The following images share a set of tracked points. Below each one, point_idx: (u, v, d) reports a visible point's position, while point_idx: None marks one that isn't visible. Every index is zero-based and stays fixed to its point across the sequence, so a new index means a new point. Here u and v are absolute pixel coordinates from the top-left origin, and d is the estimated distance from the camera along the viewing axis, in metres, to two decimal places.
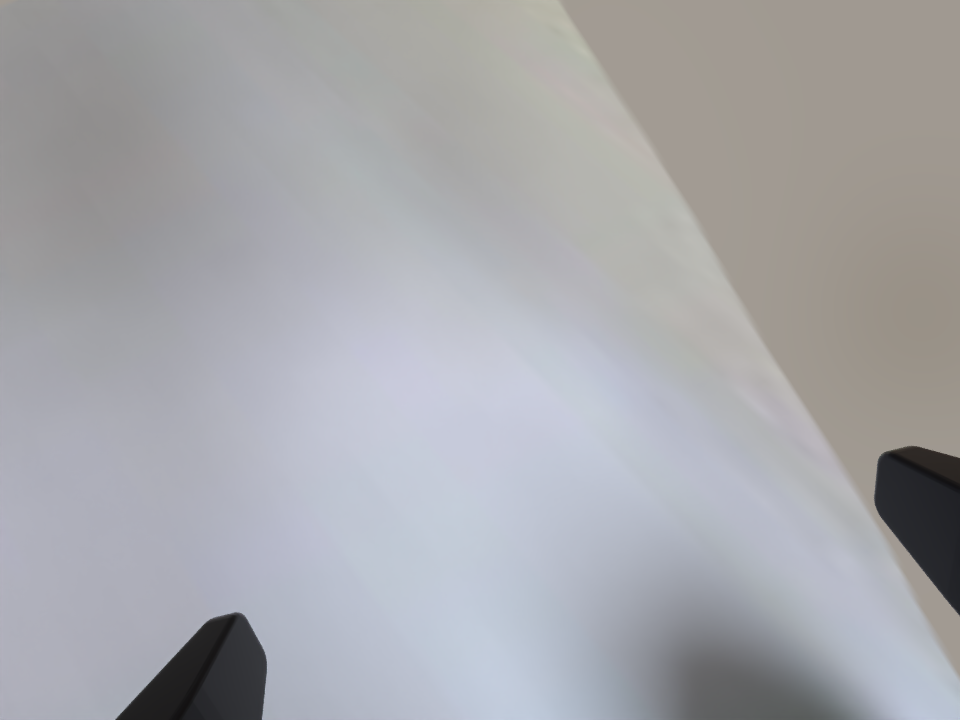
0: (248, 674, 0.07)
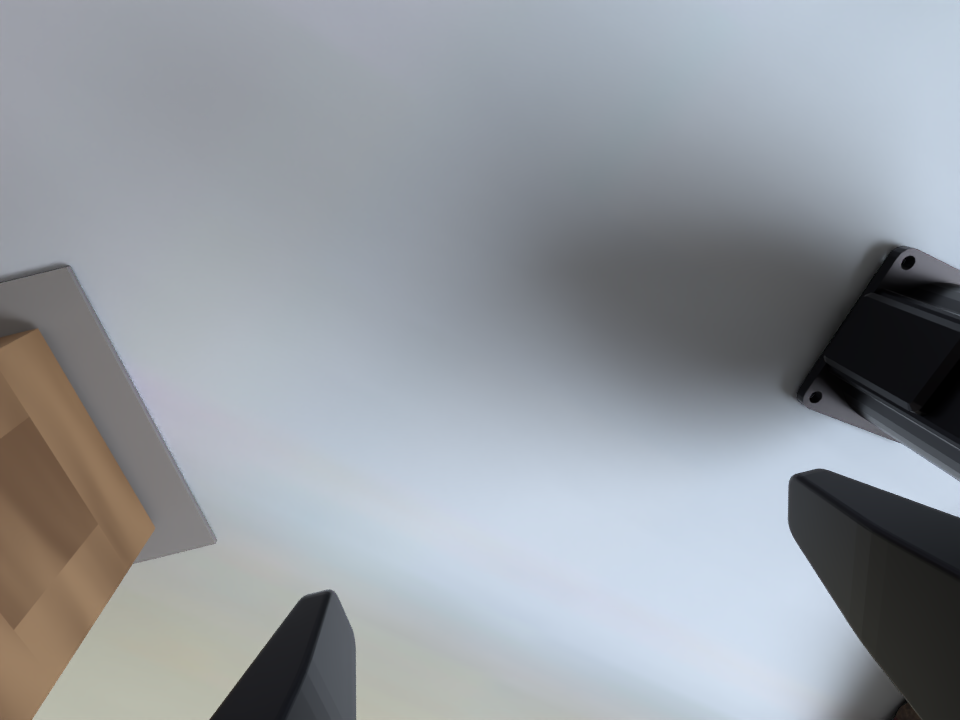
0: (343, 651, 0.07)
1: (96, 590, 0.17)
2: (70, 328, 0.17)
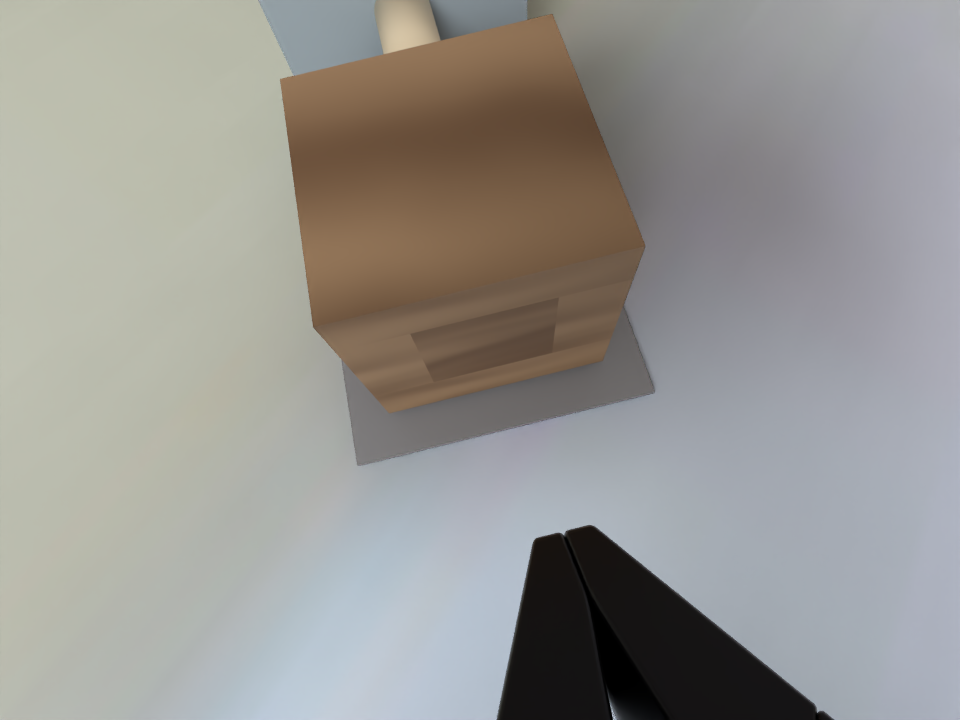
0: None
1: (381, 378, 0.17)
2: (599, 382, 0.20)
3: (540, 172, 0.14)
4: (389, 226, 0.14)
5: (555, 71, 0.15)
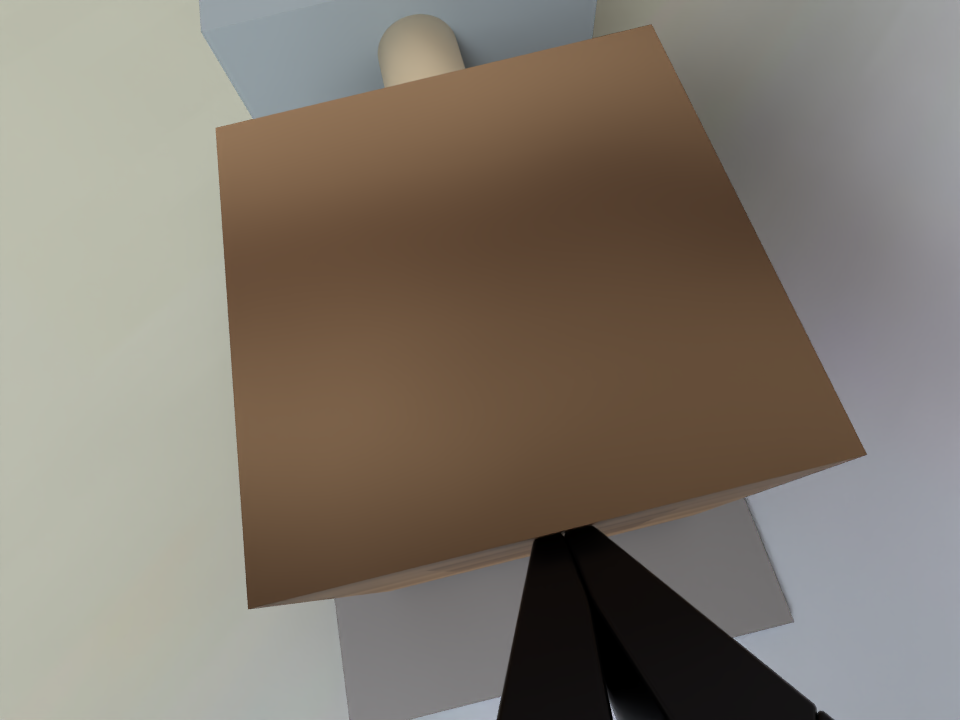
0: None
1: (378, 588, 0.11)
2: (709, 604, 0.14)
3: (656, 301, 0.08)
4: (391, 399, 0.08)
5: (665, 119, 0.09)
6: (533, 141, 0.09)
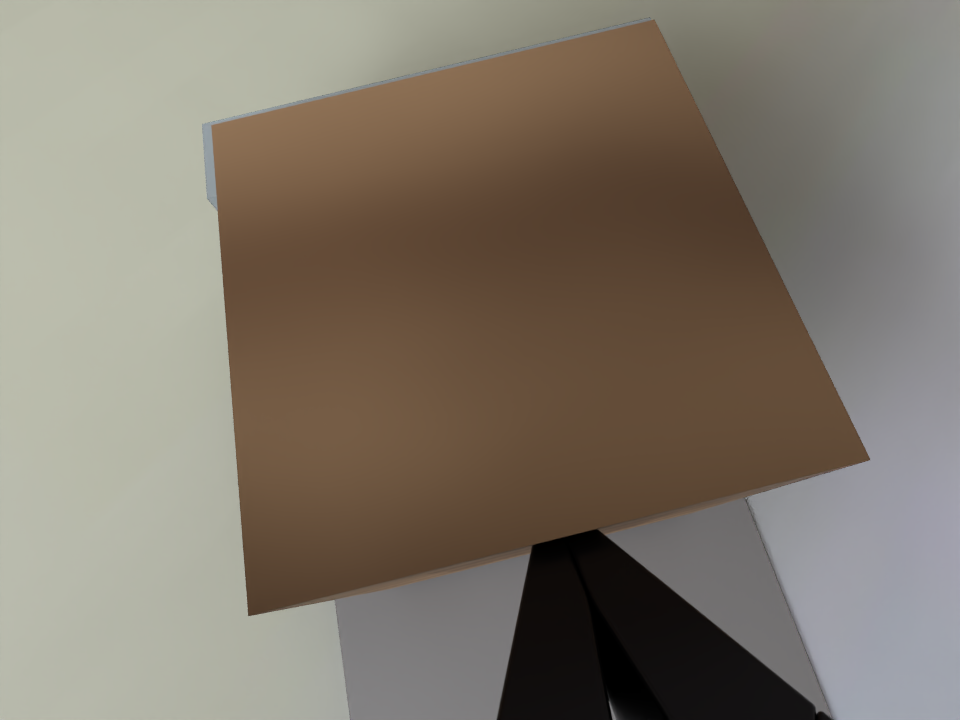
0: None
1: (378, 589, 0.11)
2: None
3: (658, 303, 0.08)
4: (391, 404, 0.08)
5: (668, 117, 0.09)
6: (534, 140, 0.09)
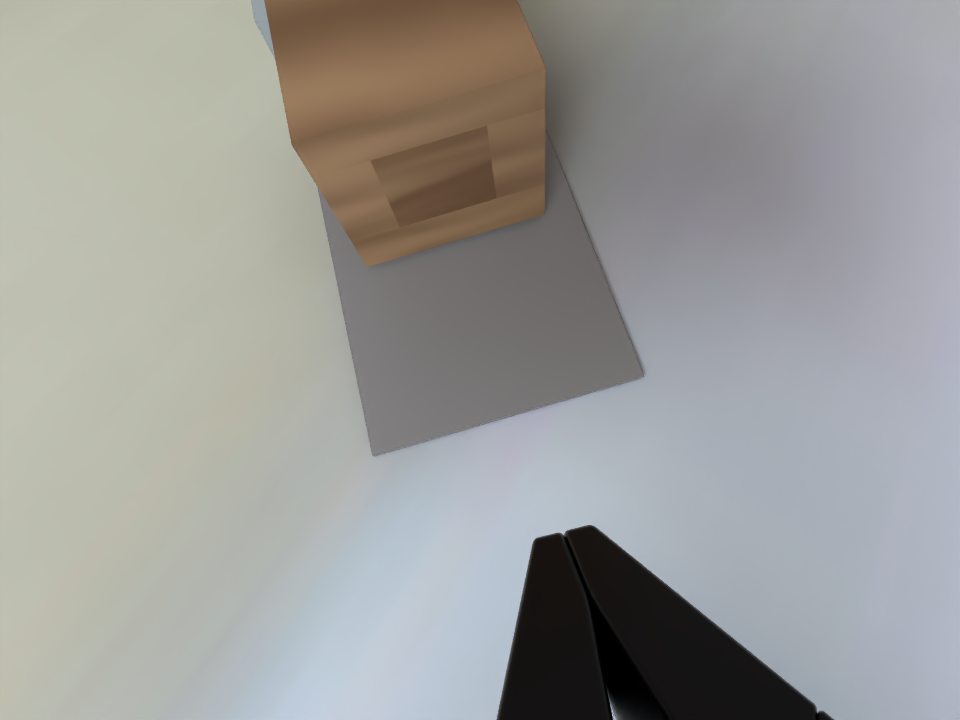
0: None
1: (354, 217, 0.21)
2: (592, 369, 0.22)
3: (465, 22, 0.18)
4: (348, 69, 0.17)
5: None
6: None
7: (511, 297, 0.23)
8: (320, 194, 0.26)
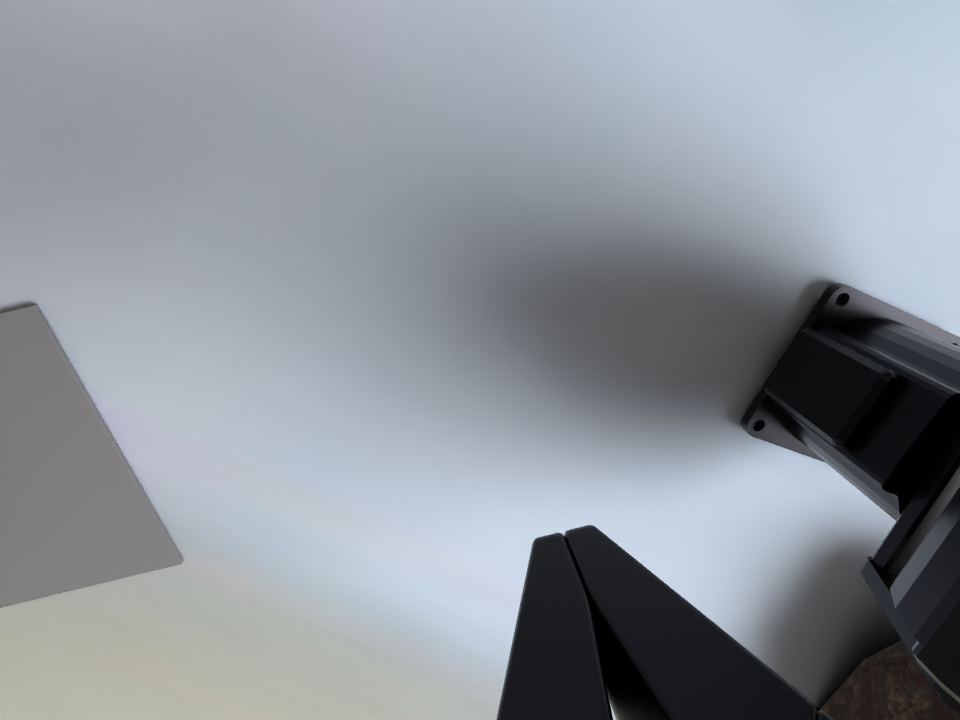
0: None
1: None
2: (37, 362, 0.18)
3: None
4: None
5: None
6: None
7: None
8: None
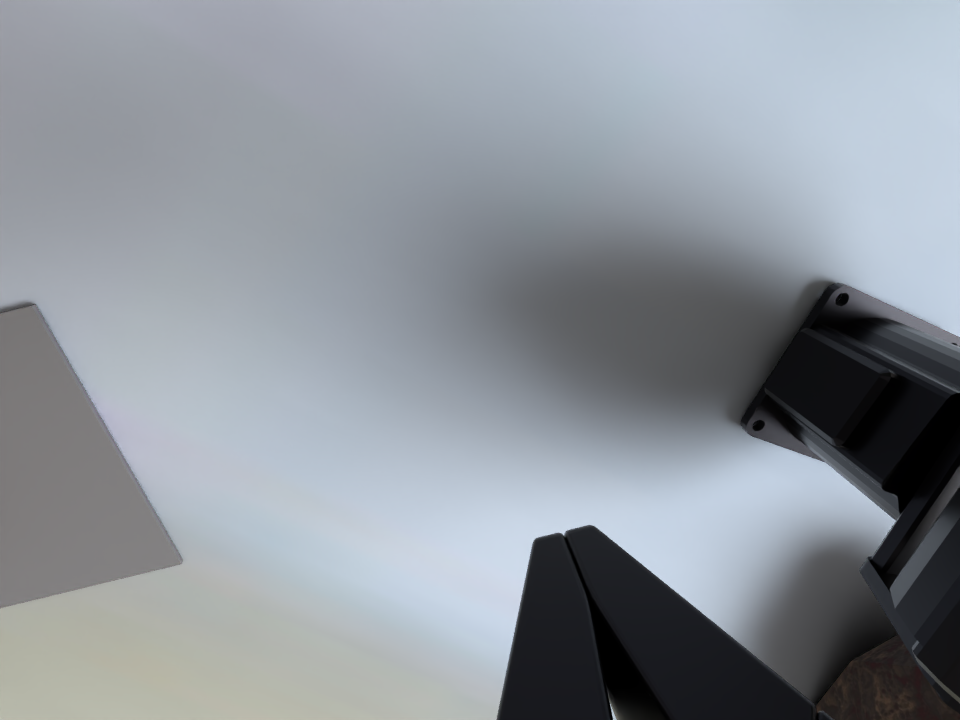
0: None
1: None
2: (36, 362, 0.18)
3: None
4: None
5: None
6: None
7: None
8: None
